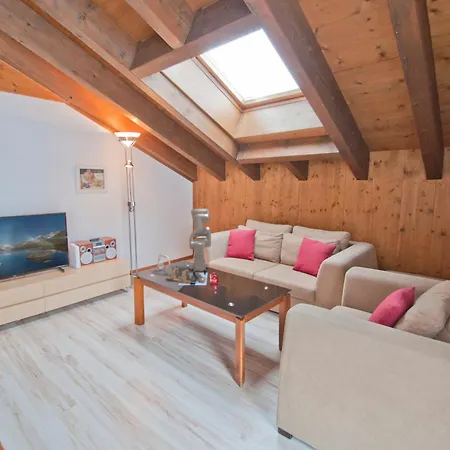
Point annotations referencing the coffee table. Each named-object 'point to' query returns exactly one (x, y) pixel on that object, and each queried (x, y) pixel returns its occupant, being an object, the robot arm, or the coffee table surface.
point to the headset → (160, 265)
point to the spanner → (200, 277)
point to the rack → (178, 278)
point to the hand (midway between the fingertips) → (199, 275)
